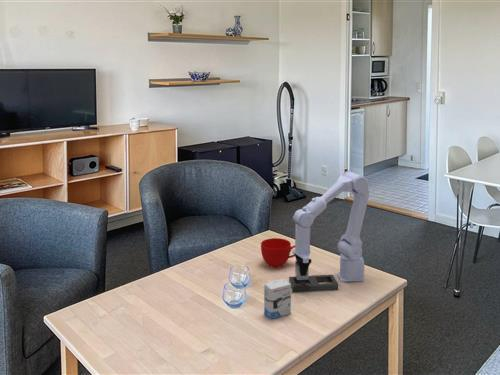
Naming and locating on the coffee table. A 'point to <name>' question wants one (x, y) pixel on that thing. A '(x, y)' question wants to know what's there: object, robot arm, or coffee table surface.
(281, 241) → the ceramic cup
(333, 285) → the dark grey double frame
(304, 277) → the block
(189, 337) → the coffee table surface
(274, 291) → the ink box
